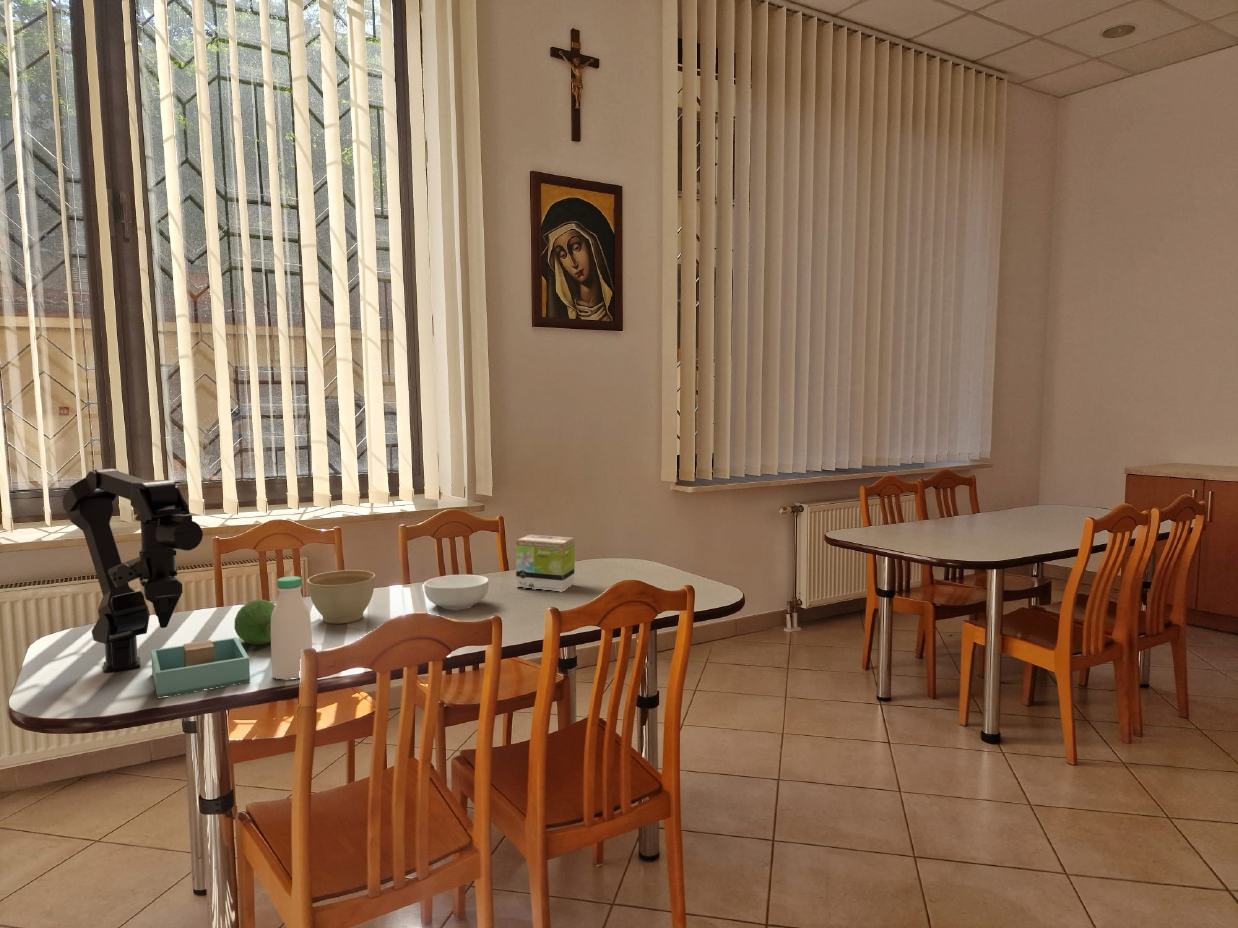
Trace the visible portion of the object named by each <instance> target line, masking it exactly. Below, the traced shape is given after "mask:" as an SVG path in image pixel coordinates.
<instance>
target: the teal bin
mask: <svg viewBox="0 0 1238 928" xmlns="http://www.w3.org/2000/svg"><path fill="white" fill-rule="evenodd" d="M211 641H212V643H213V646H214V660H215V662H213V663H207V664H201V665H195V666H188V667H184V648H183V645H177V646H170V647H163V648H156V649H151V650H150V657H151V658H150V659H151V676H152V675H153V676H152V679H153V685H154V689H156V690H155V694H157V695H156V698H157V697H163V696H172V697H175V696H174V695H177V696H179V695H178V694H183V695H187V694H186V693H188V694H193V693H192V692H194V691H199V692H203V691H202V690H204V689H210V688H216V687H221V686H227V687H231V686H230V685H233V684H238V685H240V684H239V683H244V684H247V683H246V682H249V681H250V682H251V672H250V671H251V669H250V657H249V655H248V654H247V652H246V650H245V649H244V646H243V645H242V643H241V641H240V640H239V637H236V636H234V637H229V638H224V639H223V638H222V639H217V640H211ZM233 686H234V685H233ZM216 689H217V688H216ZM194 693H195V692H194Z"/></svg>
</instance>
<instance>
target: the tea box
mask: <svg viewBox="0 0 1238 928" xmlns="http://www.w3.org/2000/svg"><path fill="white" fill-rule="evenodd" d="M515 542H516V543H515V583H516V588H517V587H524V588H523V589H526V588H532V589H531V590H536V589H547V590H564V589H566V588H567V587H569V586H570V585H572V584H574V585H575V550H576V549H575V543H576V542H575V537H569V536H556V535H555V536H554V535H542V534H541V535H540V534H530V533H529V534H527V535H525V536H523V537H522V538H519V539H516V540H515ZM525 587H526V588H525Z"/></svg>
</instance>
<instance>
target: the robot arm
mask: <svg viewBox="0 0 1238 928" xmlns="http://www.w3.org/2000/svg"><path fill="white" fill-rule="evenodd" d="M119 497H121V498H124V499H126V500H129V501H130V506H131V507H133V508H134V509H136V510H137V511H138V512H139V513H138V514H137V515H136V516H135V518H134V520H135V521H136V522H137V521H138V522H140V536H141V537H140V538H141V539H140V541H141V548H140V550H139V552H138V554H139V556H138V557H136V558H133V559H129V560H127V561H125V562H122V558H121V556H120V552H119V550H118V547H117V544H116V543H117V542H116V540H115V536H114V534H113V529H112V526H111V524H110V522H111V520H112V518H113V514H114V512H115V507H114V506H115V505H114V503H115V502H116V500H117V499H118V498H119ZM62 506H63V509H64V512H65V511H66V513H67V516H68V519H69V521H70V523H72V524H74V526H75V527H77V528H78V529H80V531H82V532H83V535H84V538H85V539H84V540H85V542H86V545H87V548H88V550H89V554H90V557H91V560H92V561H91V562H92V564H93V567H94V571H95V573H96V577H97V580H98V583H99V587H100V590H101V594H102V597H101V601H100V604H99V607H98V609H97V612H98V615H99V616H98V617H99V618H98V619H97V621H96V623H95V624H94V626H93V628H92V629H91V635H92V640H93V642H97V643H99V644H104V653H105V656H104V657H105V658H104V659H105V661H103V672H104V673H109V672H115V671H122V670H128V669H129V670H130V669H135V668H140V667H141V666H142V665H141V659H140V656H138V643H137V641H138V640H137V636H141V635H146V634H147V633H148V628H149V623H150V622H149V621H150V616H151V614H150V610H149V606H148V605H147V602H146V601H148V602H150V603H151V604H152V606H153V609H154V613H155V617H157V620H158V625H159V627H160V629H164V628H167V627H168V625H169V623H170V621H171V618H172V615H173V614H174V612H175V609H176V607H177V605H178V602H179V600H180V598H181V597H182V594H183V593H184V592H183V583H182V581H181V580H180V579H179V578H178V577H176V576H178V570H177V568H176V556H177V550H181V551H192V550H194V549H196V548H197V547H198V546H200V544H201V542H202V541H203V536H204V534H203V533H204V532H203V530H202V527H201V526H200V524H198V523H197V522H196V521H194V520H193V515H192V514H191V513H190V511H189V505H188V504H187V501H186V500H185V498H184V497H183V495H182V493H181V491H180V489H179V487H178V486H177V484H176V482H174V481H173V480H170V479H167V480H166V479H156V480H155V479H154V480H152V479H151V480H146V479H143V478H141V477H137V476H134V475H131V474H128V473H124V472H121V471H119V470H118V469H115V468H112V467H111V468H102V469H101V468H100V469H93V470H91V471H89V472H88V473H87V474H86V476H85V477H84V478H82V479H80V480H79V481H77V482H75V483H73V484H72V485H71V486H69V488H68V489H67V491H66V493H65V494H64V496H63V497H62ZM137 579H138V580H139V583H140V585H141V586H142V587H143V592H142V591H141V590H137V591H135V590H134V589H133V588H132V587H130V585H129V582H133V581H135V580H137Z"/></svg>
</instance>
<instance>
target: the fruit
mask: <svg viewBox="0 0 1238 928" xmlns="http://www.w3.org/2000/svg"><path fill="white" fill-rule="evenodd" d="M275 605H276V604H274V603H273V602H271V601H269V600H267V599H253V600H252V601H249V602H247V603H246V604H244V605H243V606H242V607H241V608H240V609H239V610H238V612H237V614H236V616H235V617H234V626H233V627H234V631H235V634H236V635H237V636H238V638H240V639H241V640H242V641H243V642H244V643H246V644H251V645H255V646H258V645H265V644H268V643H271V616H272V612H273V609H274V607H275Z"/></svg>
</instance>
